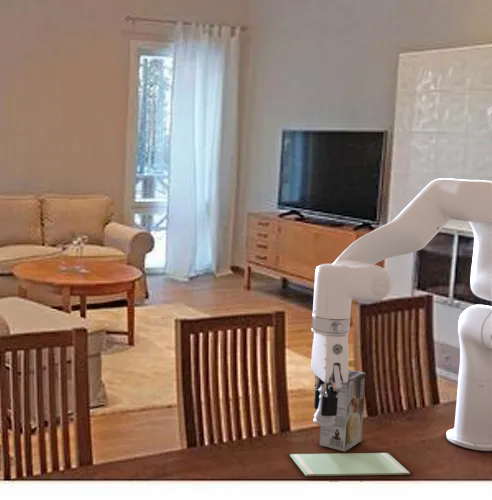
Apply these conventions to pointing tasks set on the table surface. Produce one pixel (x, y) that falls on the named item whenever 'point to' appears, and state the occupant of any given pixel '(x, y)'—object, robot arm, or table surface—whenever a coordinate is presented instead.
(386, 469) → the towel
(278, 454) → the table surface
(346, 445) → the coffee box
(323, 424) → the rook chess piece
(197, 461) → the table surface
